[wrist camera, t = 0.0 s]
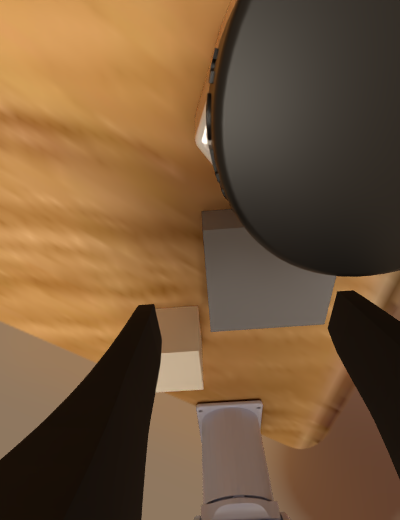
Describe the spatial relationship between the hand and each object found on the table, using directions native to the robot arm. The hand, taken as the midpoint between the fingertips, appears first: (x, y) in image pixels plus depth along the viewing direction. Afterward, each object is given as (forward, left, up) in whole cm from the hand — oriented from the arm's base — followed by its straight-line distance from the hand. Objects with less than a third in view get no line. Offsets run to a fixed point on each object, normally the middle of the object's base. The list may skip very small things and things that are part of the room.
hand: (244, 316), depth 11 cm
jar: (+7, -3, -10) cm, 13 cm away
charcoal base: (-4, -3, -10) cm, 12 cm away
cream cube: (-11, +5, -10) cm, 16 cm away
